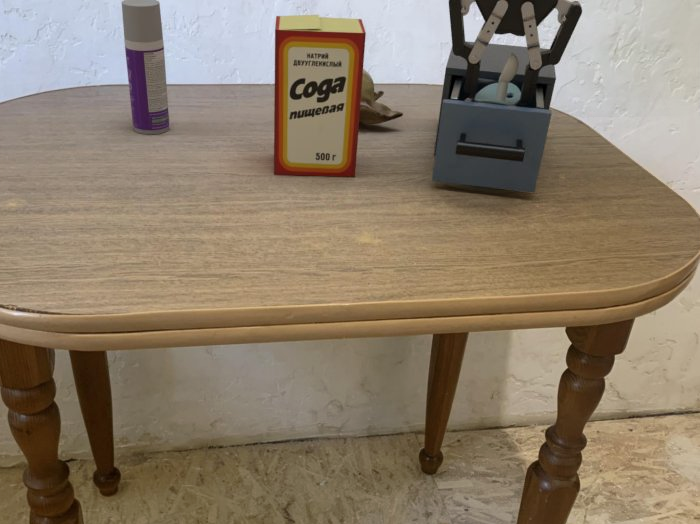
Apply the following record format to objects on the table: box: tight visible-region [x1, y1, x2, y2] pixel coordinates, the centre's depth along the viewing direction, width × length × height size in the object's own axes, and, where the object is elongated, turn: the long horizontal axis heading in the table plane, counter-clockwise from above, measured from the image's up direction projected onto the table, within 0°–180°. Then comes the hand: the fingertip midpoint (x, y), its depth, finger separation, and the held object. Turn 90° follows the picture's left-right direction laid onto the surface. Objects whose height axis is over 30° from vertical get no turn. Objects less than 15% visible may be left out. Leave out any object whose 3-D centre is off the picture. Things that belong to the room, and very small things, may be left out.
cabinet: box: [433, 40, 557, 157], centre depth 98 cm, size 14×13×11 cm
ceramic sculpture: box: [359, 68, 404, 125], centre depth 103 cm, size 11×9×15 cm
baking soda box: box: [273, 14, 367, 178], centre depth 88 cm, size 10×6×16 cm
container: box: [121, 0, 170, 135], centre depth 96 cm, size 5×5×15 cm
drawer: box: [431, 75, 553, 194], centre depth 87 cm, size 17×11×9 cm
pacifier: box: [465, 53, 521, 106], centre depth 85 cm, size 7×6×6 cm
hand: (497, 98), depth 86 cm, fingers closed on pacifier, 5 cm apart
